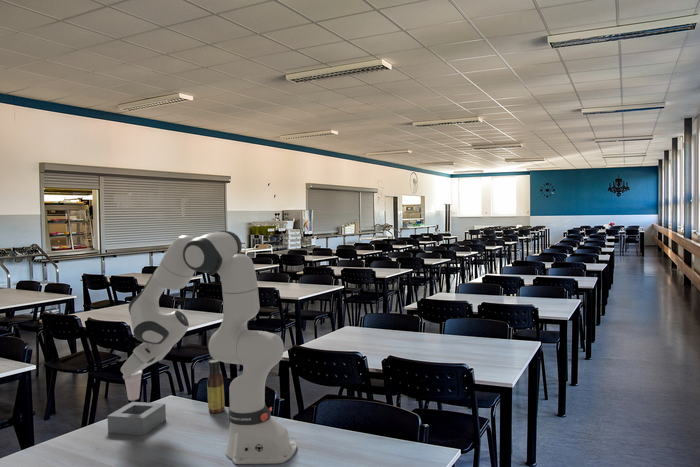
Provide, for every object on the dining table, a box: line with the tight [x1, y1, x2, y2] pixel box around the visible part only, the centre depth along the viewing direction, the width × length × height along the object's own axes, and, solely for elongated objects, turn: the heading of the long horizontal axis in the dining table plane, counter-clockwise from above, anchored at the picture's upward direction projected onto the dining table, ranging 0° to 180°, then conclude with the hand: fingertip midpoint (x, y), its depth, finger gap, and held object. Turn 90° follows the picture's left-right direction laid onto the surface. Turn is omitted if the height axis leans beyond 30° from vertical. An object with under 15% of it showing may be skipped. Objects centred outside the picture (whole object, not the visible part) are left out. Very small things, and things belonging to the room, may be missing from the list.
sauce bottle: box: [206, 359, 226, 414], centre depth 198 cm, size 6×6×20 cm
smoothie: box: [122, 370, 143, 401], centre depth 183 cm, size 6×6×14 cm
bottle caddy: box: [107, 401, 167, 436], centre depth 185 cm, size 14×14×6 cm
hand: (131, 374), depth 183 cm, fingers closed on smoothie, 6 cm apart
